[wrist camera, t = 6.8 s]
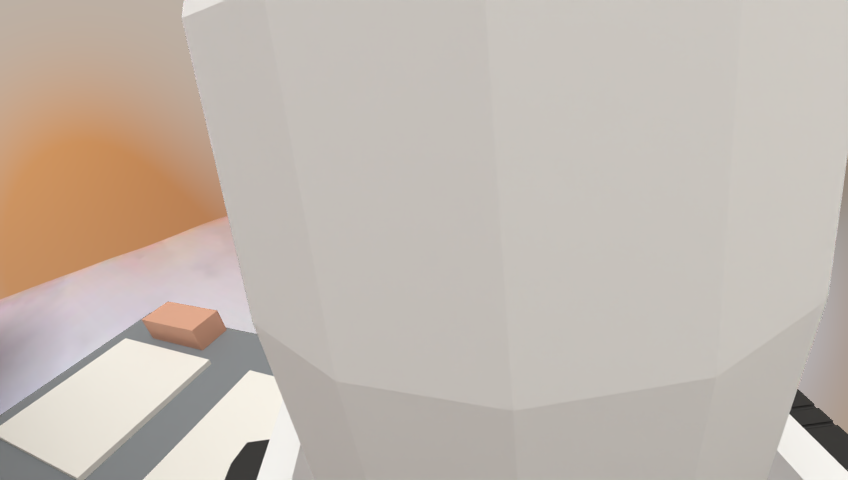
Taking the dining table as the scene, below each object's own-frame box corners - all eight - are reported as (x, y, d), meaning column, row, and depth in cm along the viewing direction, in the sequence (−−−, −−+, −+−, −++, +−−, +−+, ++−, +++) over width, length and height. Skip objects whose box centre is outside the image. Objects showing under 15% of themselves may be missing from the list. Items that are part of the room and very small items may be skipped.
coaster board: (-36, 459, 26) (-72, 428, 25) (157, 322, 37) (140, 294, 36) (297, 668, 15) (269, 633, 13) (431, 382, 26) (424, 346, 24)
